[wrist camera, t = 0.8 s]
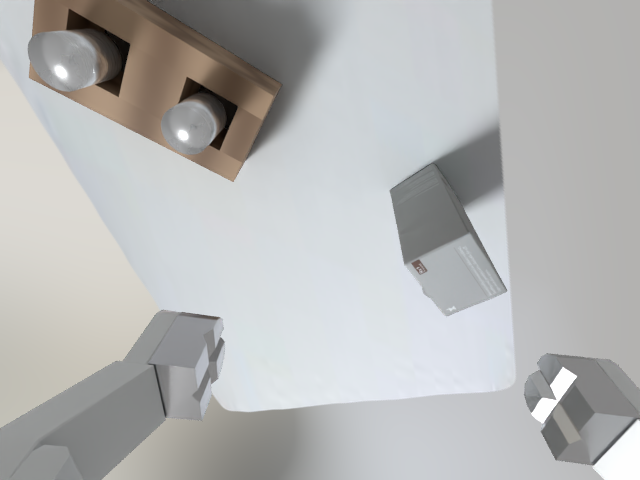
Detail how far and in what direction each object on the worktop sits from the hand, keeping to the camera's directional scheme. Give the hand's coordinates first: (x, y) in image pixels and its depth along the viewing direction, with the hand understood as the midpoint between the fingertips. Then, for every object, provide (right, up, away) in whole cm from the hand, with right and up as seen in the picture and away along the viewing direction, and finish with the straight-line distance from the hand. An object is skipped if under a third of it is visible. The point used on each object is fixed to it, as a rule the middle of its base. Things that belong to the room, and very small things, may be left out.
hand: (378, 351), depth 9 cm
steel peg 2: (-13, +15, +24) cm, 31 cm away
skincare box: (+12, +8, +35) cm, 38 cm away
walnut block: (-17, +20, +27) cm, 38 cm away
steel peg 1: (-21, +20, +22) cm, 36 cm away
